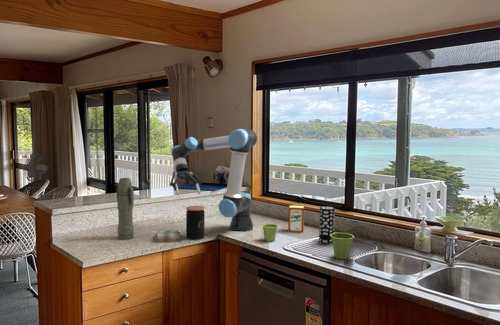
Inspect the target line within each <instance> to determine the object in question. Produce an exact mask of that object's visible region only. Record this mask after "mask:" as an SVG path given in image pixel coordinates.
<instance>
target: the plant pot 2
mask: <svg viewBox="0 0 500 325" xmlns="http://www.w3.org/2000/svg"><path fill="white" fill-rule="evenodd" d="M330 236H331V238H332V242H333V244H332V248H333V256H334V258H335V259H339V260H343V259H345V260H347V259H349V258H350V256H351V249H352V243H353V242H354V241H353V240H354V238H355V236H354V235H353V234H351V233H348V232H334V233H333V234H331V235H330Z"/></svg>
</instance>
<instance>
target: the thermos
mask: <svg viewBox="0 0 500 325" xmlns="http://www.w3.org/2000/svg"><path fill="white" fill-rule="evenodd" d="M117 185H118V186H117V187H116V203H117V206H116V208H117V210H118V211H117V212H118V215H117V216H118V217H117V218H118V225H117V239H118V240H120V241H122V240H123V241H127V240H132V239H134V233H135V232H134V231H135V230H134V229H135V228H134V224H133V223H134V222H133V209H134V204H135V203H134V200H135V197H134V194H135V193H134V192H135V190H134V187H133V186H132V185H133V182H132V180H131V178H129V177H121V178H119V180H118V183H117Z"/></svg>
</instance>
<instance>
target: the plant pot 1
mask: <svg viewBox="0 0 500 325" xmlns="http://www.w3.org/2000/svg"><path fill="white" fill-rule="evenodd" d="M261 227H262V230H263V236H264V237H263V238H264V241H266V242H274V240H275V241H276V237H277V230H278V227H279V225H278V224H276V223H275V224H274V223H265V224H262V225H261Z"/></svg>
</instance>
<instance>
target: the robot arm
mask: <svg viewBox="0 0 500 325" xmlns="http://www.w3.org/2000/svg"><path fill="white" fill-rule="evenodd" d="M257 142H258V135H257V133H256V131H254V130H253V129H251V128H250V129H249V128H238V129H234V130H232V131H231V132H230V133H229V135H223V136H217V137H216V136H214V137H209V138H203V139H196V138H195V137H193V136H190V137H188V138H186V139H185V140H184V141H183V142H182V143H181V144H180V145H179V144H178V145H175V146H173V147H172V148H171V156H172V160H173V163H174V168H175V170H176V172H175V171H173V172H172V173H171V174H172V175H171V176H172V177H171V179H170V183H169V186H170V187H172V188H173V190H174V191H175V194H176V196H179V194H180V191H179V187H178V183H179V181H180V180H188V181H190V182H192V183H193V184H195V188H196V191H197V194H198V195H200V193H201V185H202V180H201V179H200V178H199V177H198V175H196V173H195V171H194V170H192V171H189V165H188V162H187V160H186V157H187V156H188V155H189V154H190V153H191V152H204V151H208V150H218V149H224V148H225V149H226V148H229V150H230V153H231V159H230V166H229V171H228V172H229V173H228V179H227V186H226V191H225V192H223V197H222V199H221V200H220V201H219V203H218V210H219V212H220V214H221V215H222V216H223V217H224V218H231V220H230V223H229V229H230V230H231V229H233V230H232V231H235V230H241V231H240V232H247V231H246V230H249V231H252V230H253V229H254V223H253V220H252V217H251V214H252V213H251V211H252V206H251V205H252V198H251V197H252V196H251V194H250V193H246V192H245V193H244V192H243V193H242V185H243V180H244V172H245V164H246V159H247V158H246V157H247V155H248V154H249V153H250V150H251V148H253V147H254V146H256V144H257ZM176 176H177V178H176V179H175V177H176ZM251 229H252V230H251Z"/></svg>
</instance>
